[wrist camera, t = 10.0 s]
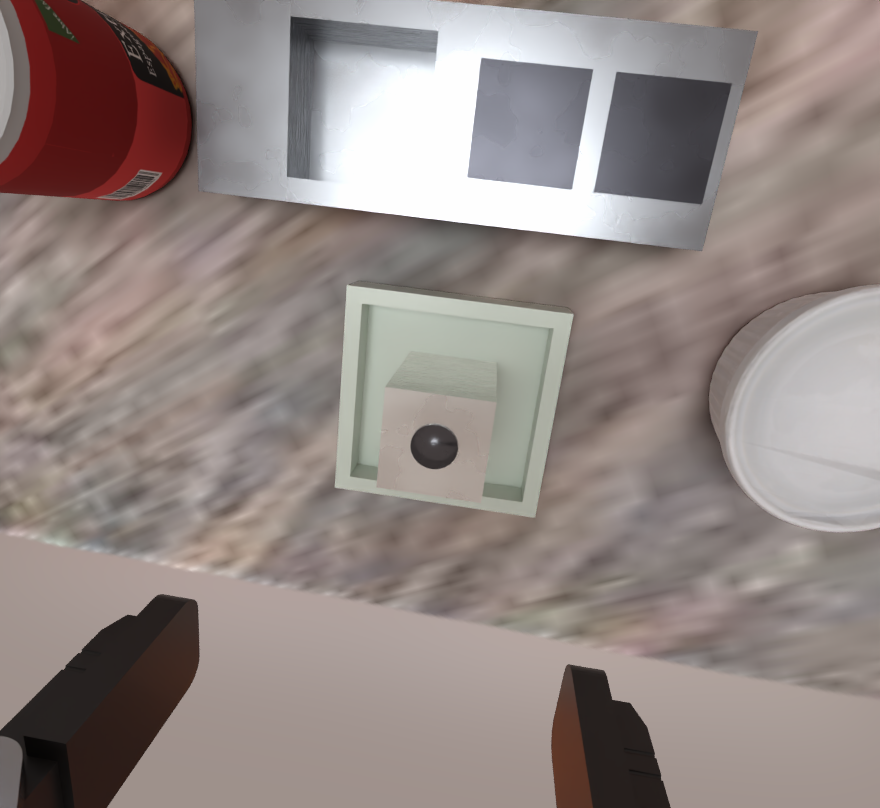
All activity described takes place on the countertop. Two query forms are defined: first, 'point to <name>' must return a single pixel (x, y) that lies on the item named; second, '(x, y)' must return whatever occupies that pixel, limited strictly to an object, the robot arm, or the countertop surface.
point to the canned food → (85, 105)
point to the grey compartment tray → (470, 113)
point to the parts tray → (465, 336)
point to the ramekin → (806, 410)
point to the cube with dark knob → (438, 426)
